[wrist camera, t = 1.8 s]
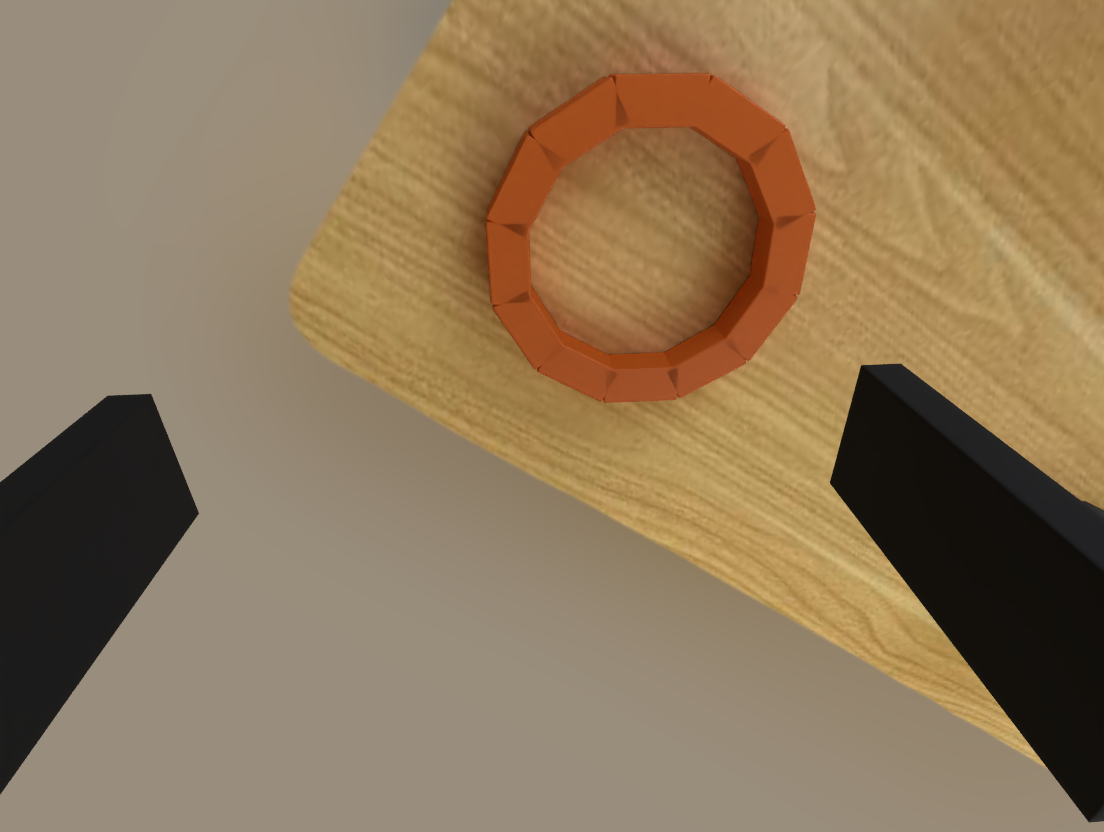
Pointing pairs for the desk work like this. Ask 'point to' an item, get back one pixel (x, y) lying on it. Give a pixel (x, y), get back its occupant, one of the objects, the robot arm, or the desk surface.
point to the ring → (775, 252)
